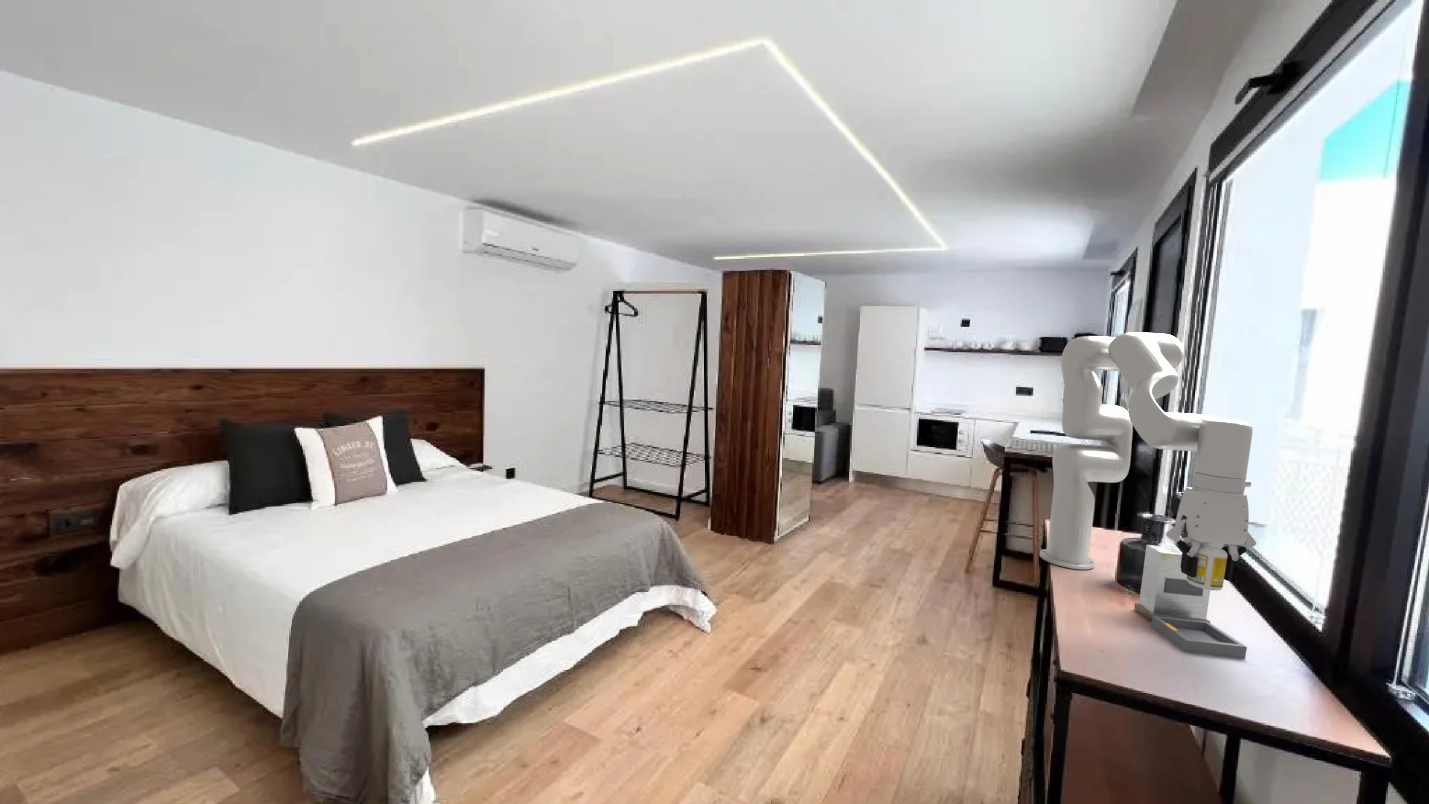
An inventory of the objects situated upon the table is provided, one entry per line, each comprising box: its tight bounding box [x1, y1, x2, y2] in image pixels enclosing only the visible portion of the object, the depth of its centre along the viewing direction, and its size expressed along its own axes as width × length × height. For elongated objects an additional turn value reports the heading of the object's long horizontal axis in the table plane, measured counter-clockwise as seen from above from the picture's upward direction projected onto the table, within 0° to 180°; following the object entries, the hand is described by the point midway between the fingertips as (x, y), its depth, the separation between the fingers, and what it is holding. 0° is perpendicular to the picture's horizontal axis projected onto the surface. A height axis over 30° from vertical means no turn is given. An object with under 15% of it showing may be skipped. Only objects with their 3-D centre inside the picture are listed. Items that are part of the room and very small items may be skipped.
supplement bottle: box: [1187, 543, 1227, 592], centre depth 110 cm, size 5×5×10 cm
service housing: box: [1133, 544, 1211, 624], centre depth 121 cm, size 6×11×15 cm, turn 82°
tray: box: [1150, 616, 1248, 659], centre depth 112 cm, size 10×10×2 cm
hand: (1205, 575), depth 111 cm, fingers closed on supplement bottle, 5 cm apart
